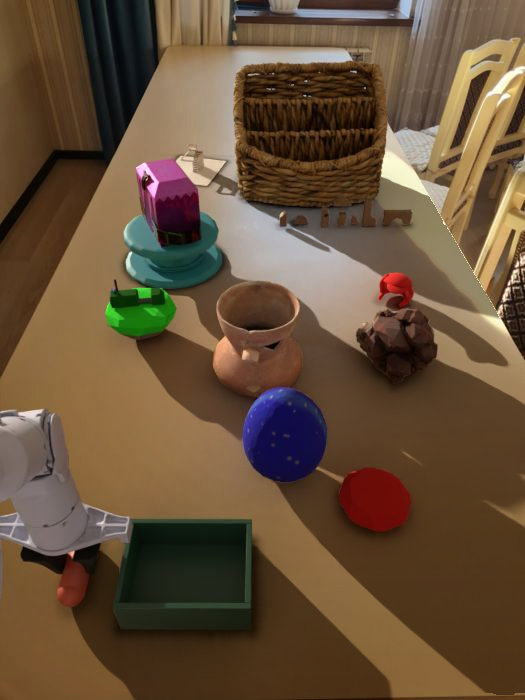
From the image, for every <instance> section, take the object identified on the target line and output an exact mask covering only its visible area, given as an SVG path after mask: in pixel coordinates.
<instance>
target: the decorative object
mask: <svg viewBox="0 0 525 700" xmlns="http://www.w3.org/2000/svg"><path fill="white" fill-rule="evenodd" d="M135 175H136V182H137V187H138V195H139V197H138V198H139V205H140V211H141V214H140V215H138V216H135V217H134V218H133V219H132V220H130V221H129V222H128V223H127V224H126V226H125V228H124V229H123V233H122V235H123V242H124V245H125V246H126V247H127V248H128V250H129V252H128V255H127V257H126V259H125V266H126V271H127V273H128V275H130V277H131V278H132V279H133V280H134V281H136V282H137V283H140V284H141V285H143V286H147V287H150V288H162V289H163V290H164V289H167V290H176V289H185V288H190V287H193V286H195V285H198V284H201V283H205V282H206V281H207V280H210V279H211V278H212V277H214V276H215V275H216V274H217V272H218V271H219V270H220V269H221V268H222V263H223V254H222V251H221V249H220V247H219V246H218V245H216V244H215V243H216V242H217V240H218V237H219V232H220V231H219V230H220V229H219V227H218V225H217V221H216V220H215V219H213V218H212V217H211V216H210V215H209V214H208V213H206V212H203V211H201V209H200V195H199V188H198V187H197V186H196V184H193V182H192V181H191V180H190V179H189V177H188V176H187V175H186V174H185V172H184V171H183V170H182V169H181V167H180V166H179V165H178V164H177V162H176V160H175V159H174V158H173V157H170V158H165V159H158V160H153V161H147V162H144V163H142V164H140V165H139V166H137V167H135Z"/></svg>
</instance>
